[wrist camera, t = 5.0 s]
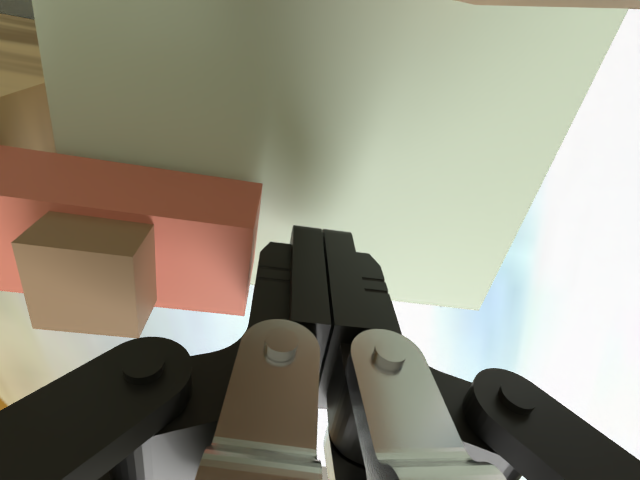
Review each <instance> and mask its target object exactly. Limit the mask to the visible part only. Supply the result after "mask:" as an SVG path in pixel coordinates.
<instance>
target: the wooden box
mask: <svg viewBox="0 0 640 480" xmlns="http://www.w3.org/2000/svg"><path fill="white" fill-rule="evenodd" d="M0 145H4V146H11V147H17V148H24V149H31V150H38V151H45V152H51V153H56V148H55V142H54V136H53V130H52V124H51V117H50V111H49V105H48V99H47V93H46V87H45V81H44V75H43V68H42V62H41V56H40V50H39V44H38V38H37V32H36V26H35V20H33V19H28V18H23V17H17V16H12V15H7V14H1V13H0Z"/></svg>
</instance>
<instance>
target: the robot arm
mask: <svg viewBox="0 0 640 480" xmlns="http://www.w3.org/2000/svg"><path fill="white" fill-rule="evenodd" d="M318 408H322V409H327V412H328V427H327V430H326V434H325V437H324V452H325V459H326V467H327V474H328V480H519V479H520V478H521V476H524V477H525V478H526V479H527V480H640V460H638V459H637V458H635V457H634V456H633V455H631V454H630V453H628V452H627V451H626V450H624V449H623V448H622V447H620V446H619V445H617V444H616V443H615V442H613V441H612V440H610V439H609V438H608V437H606V436H605V435H604V434H602V433H601V432H599V431H598V430H597V429H595V428H594V427H592V426H591V425H590V424H588V423H587V422H586V421H584V420H583V419H581V418H580V417H579V416H577V415H576V414H574V413H573V412H572V411H570V410H569V409H568V408H566V407H565V406H563V405H562V404H561V403H559V402H558V401H556V400H555V399H554V398H552V397H551V396H550V395H548V394H547V393H545V392H544V391H543V390H541V389H540V388H538V387H537V386H536V385H534V384H533V383H532V382H530V381H528V380H527V379H525V378H524V377H522V376H520V375H518V374H516V373H513V372H511V371H507V370H504V369H498V368H490V369H485V370H482V371H481V372H479V373H478V374H477V375H476V377H475V379H474V380H473V382H472V383H471V382H468V381H465V380H463V379H460V378H457V377H454V376H451V375H448V374H445V373H443V372H440V371H438V370H435V369H433V368H431V367H429V366H428V364H427V362H426V360H425V357H424V355H423V354H422V352H421V351H420V349H419V348H418V347H417V346H416V345H415V344H414V343H413V342H412V341H410V340H409V339H408V338H406V337H404V336H403V335H402V334H401V330H400V327H399V324H398V321H397V317H396V314H395V311H394V308H393V304H392V301H391V298H390V295H389V294H388V288H387V285H386V282H385V279H384V275H383V272H382V269H381V266H380V265H379V264H378V263H377V262H376V260H375V259H374V258H373V257H372V256H371V255H370V254H369V253H361V252H356V249H355V245H354V241H353V236H352V233H351V232H345V231H337V230H329V229H323V230H322V229H321V228H313V227H305V226H297V225H293V227H292V233H291V239H290V244H286V243H278V242H269V243H268V244H267V245H266V246H265V247H264V248H263V249H262V250H261V251H260V255H259V261H258V268H257V274H256V281H255V287H254V293H253V300H252V306H251V312H250V319H249V324H248V328H247V330H246V332H245V333H244V335H243V336H242V337H241V338H240V339H239V340H238V341H237V342H235V343H234V344H232V345H231V346H229V347H227V348H225V349H222V350H219V351H216V352H211V353H206V354H200V355H194V356H190V355H189V353H188V352H187V350H186V349H185V348H184V347H183V346H182V345H180V344H179V343H177V342H175V341H173V340H170V339H166V338H161V337H143V338H137V339H133V340H130V341H127V342H124V343H122V344H120V345H118V346H116V347H114V348H113V349H111V350H109V351H107V352H105V353H104V354H102V355H100V356H98V357H96V358H95V359H93V360H91V361H89V362H87V363H85V364H84V365H82V366H80V367H78V368H76V369H75V370H73V371H71V372H69V373H67V374H66V375H64V376H62V377H60V378H58V379H57V380H55V381H53V382H51V383H49V384H48V385H46V386H44V387H42V388H40V389H39V390H37V391H35V392H33V393H31V394H29V395H28V396H26V397H24V398H22V399H20V400H19V401H17V402H15V403H13V404H11V405H10V406H8V407H6V408H4V409H2V410H1V411H0V480H322V467H321V462H320V460H317V455H316V445H317V419H318Z"/></svg>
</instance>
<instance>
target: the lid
mask: <svg viewBox="0 0 640 480" xmlns="http://www.w3.org/2000/svg"><path fill="white" fill-rule="evenodd" d="M31 1H32V7H33V13H34V19H35V26H36V32H37V38H38V44H39V50H40V56H41V62H42V68H43V75H44V81H45V87H46V93H47V99H48V105H49V111H50V117H51V124H52V130H53V136H54V142H55V148H56V153H58V154H65V155H72V156H79V157H85V158H92V159H99V160H106V161H113V162H119V163H126V164H133V165H140V166H147V167H153V168H160V169H167V170H174V171H180V172H187V173H194V174H201V175H208V176H214V177H221V178H228V179H235V180H242V181H248V182H255V183H262V184H263V186H262V195H261V204H260V213H259V221H258V230H257V239H256V248H255V257H254V263H253V269H252V275H251V280H250V284H251V285H255V281H256V274H257V268H258V261H259V255H260V251H261V250H262V249H263V248H264V247H265V246H266V245H267V244H268V243H269V242H278V243H286V244H290V239H291V233H292V227H293V225H297V226H305V227H313V228H321V229H322V230H323V229H329V230H337V231H345V232H351V233H352V236H353V241H354V245H355V249H356V252H361V253H369V254H370V255H371V256H372V257H373V258H374V259H375V260H376V262H377V263H378V264H379V265H380V266H381V269H382V272H383V275H384V279H385V282H386V285H387V288H388V294H389V295H390V298H391V301H400V302H408V303H417V304H426V305H435V306H443V307H452V308H461V309H470V310H478V311H479V309H480V307H481V305H482V303H483V301H484V299H485V297H486V295H487V293H488V291H489V289H490V287H491V285H492V283H493V281H494V279H495V277H496V275H497V273H498V271H499V269H500V267H501V265H502V263H503V260H504V258H505V256H506V254H507V252H508V250H509V248H510V246H511V244H512V242H513V240H514V238H515V236H516V234H517V232H518V230H519V228H520V226H521V224H522V222H523V220H524V218H525V216H526V214H527V212H528V210H529V208H530V206H531V204H532V202H533V200H534V198H535V196H536V194H537V192H538V190H539V188H540V186H541V184H542V182H543V180H544V178H545V176H546V174H547V172H548V170H549V168H550V166H551V164H552V162H553V160H554V158H555V156H556V154H557V152H558V150H559V148H560V146H561V144H562V142H563V140H564V138H565V136H566V134H567V132H568V130H569V128H570V126H571V124H572V122H573V120H574V118H575V116H576V114H577V112H578V110H579V108H580V106H581V104H582V102H583V100H584V98H585V96H586V94H587V92H588V90H589V88H590V86H591V84H592V82H593V80H594V77H595V75H596V73H597V71H598V69H599V67H600V65H601V63H602V61H603V59H604V57H605V55H606V53H607V51H608V49H609V47H610V45H611V43H612V41H613V39H614V37H615V35H616V33H617V31H618V29H619V27H620V25H621V23H622V21H623V19H624V17H625V15H626V13H627V11H628V9H640V0H31Z"/></svg>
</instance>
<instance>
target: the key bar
mask: <svg viewBox="0 0 640 480" xmlns="http://www.w3.org/2000/svg"><path fill="white" fill-rule="evenodd" d="M262 186H263V184H262V183H255V182H248V181H242V180H235V179H228V178H221V177H214V176H208V175H201V174H194V173H187V172H180V171H174V170H167V169H160V168H153V167H147V166H140V165H133V164H126V163H119V162H113V161H106V160H99V159H92V158H85V157H79V156H72V155H65V154H58V153H51V152H45V151H38V150H31V149H24V148H17V147H11V146H4V145H0V291H9V292H18V293H24V296H25V300H26V304H27V308H28V312H29V316H30V320H31V323H32V327H33V329H44V330H54V331H65V332H76V333H86V334H97V335H108V336H119V337H129V338H139V337H140V335H141V333H142V330H143V328H144V326H145V324H146V322H147V320H148V318H149V316H150V314H151V312H152V310H153V307H163V308H172V309H182V310H192V311H201V312H211V313H221V314H230V315H240V316H244V315H245V309H246V303H247V297H248V292H249V286H250V280H251V275H252V269H253V263H254V257H255V248H256V239H257V230H258V221H259V213H260V204H261V195H262Z"/></svg>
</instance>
